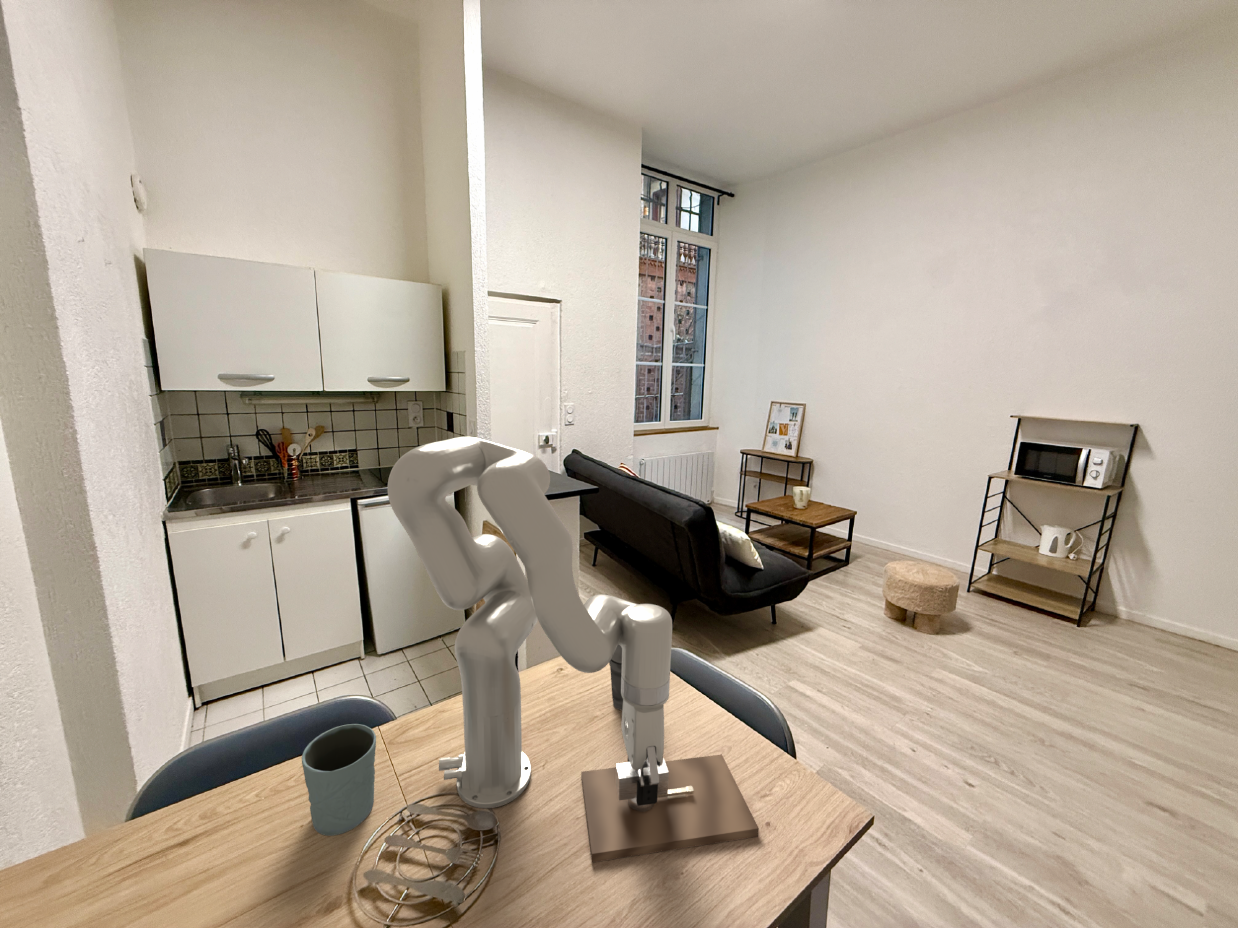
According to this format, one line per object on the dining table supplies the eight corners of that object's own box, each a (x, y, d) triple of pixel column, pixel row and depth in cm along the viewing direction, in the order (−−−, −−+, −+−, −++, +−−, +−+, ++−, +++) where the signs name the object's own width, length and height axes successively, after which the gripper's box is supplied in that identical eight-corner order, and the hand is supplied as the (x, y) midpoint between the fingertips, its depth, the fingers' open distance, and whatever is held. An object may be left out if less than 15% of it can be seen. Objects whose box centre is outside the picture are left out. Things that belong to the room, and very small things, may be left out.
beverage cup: (641, 693, 108) (643, 610, 105) (639, 716, 101) (642, 628, 98) (608, 691, 109) (610, 608, 105) (604, 713, 102) (606, 625, 98)
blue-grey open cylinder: (317, 793, 81) (311, 730, 79) (384, 778, 84) (379, 717, 82) (300, 849, 72) (292, 779, 70) (376, 829, 75) (371, 762, 73)
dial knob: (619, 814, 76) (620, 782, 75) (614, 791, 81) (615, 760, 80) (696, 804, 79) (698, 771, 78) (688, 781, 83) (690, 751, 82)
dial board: (591, 862, 71) (591, 852, 70) (581, 777, 86) (581, 768, 85) (758, 836, 75) (758, 827, 75) (720, 759, 90) (721, 751, 90)
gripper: (612, 655, 83) (610, 746, 86) (633, 726, 66) (629, 836, 70) (654, 651, 85) (651, 742, 88) (685, 720, 68) (679, 829, 71)
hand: (641, 783), depth 79 cm, fingers open, 6 cm apart
